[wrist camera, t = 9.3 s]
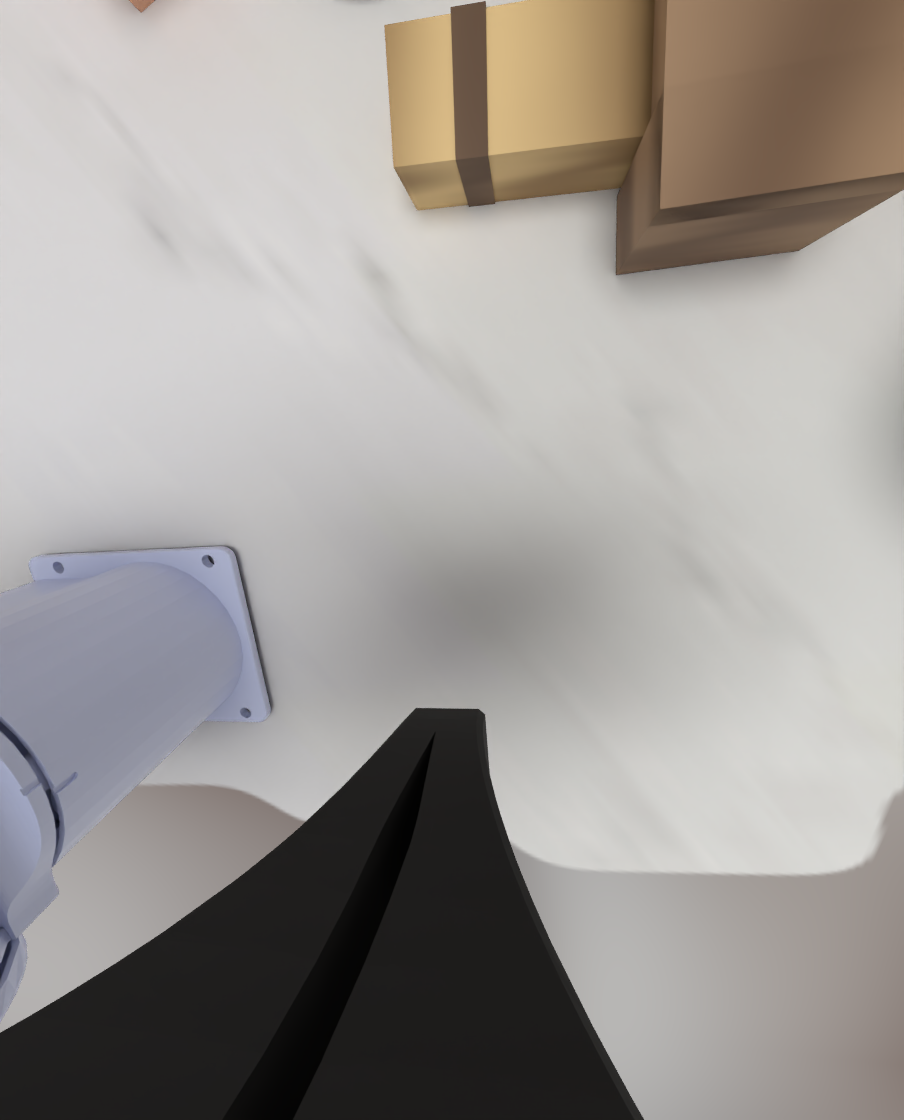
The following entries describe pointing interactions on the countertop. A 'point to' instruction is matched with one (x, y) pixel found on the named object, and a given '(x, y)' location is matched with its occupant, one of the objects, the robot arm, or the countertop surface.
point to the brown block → (763, 128)
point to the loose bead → (141, 4)
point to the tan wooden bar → (519, 99)
